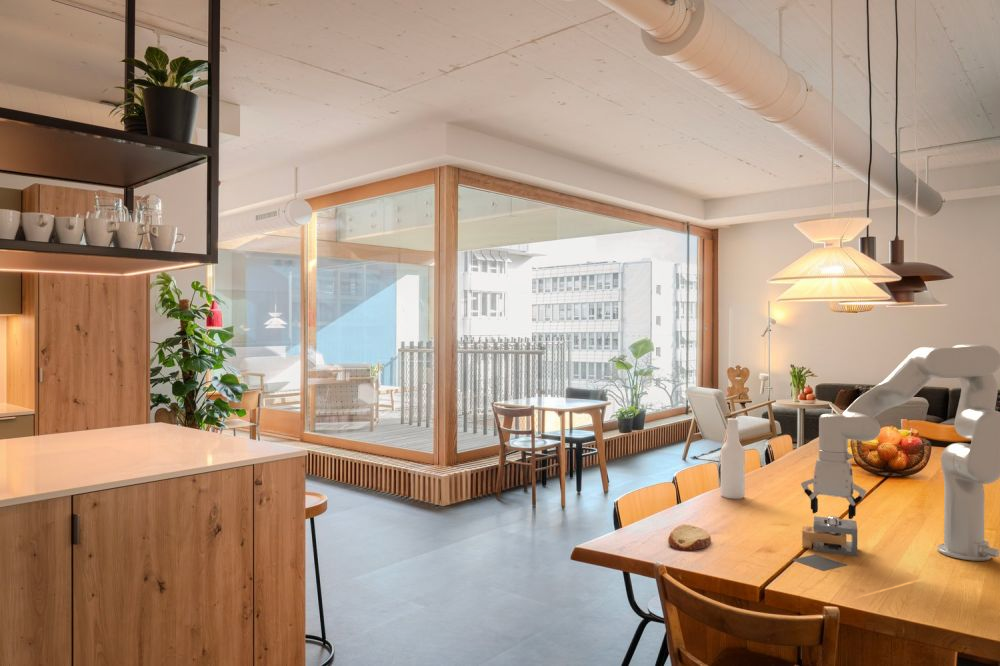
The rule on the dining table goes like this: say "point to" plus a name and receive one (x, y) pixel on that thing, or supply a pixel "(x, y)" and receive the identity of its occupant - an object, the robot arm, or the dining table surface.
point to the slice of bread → (689, 538)
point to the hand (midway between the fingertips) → (832, 515)
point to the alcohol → (732, 463)
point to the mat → (819, 562)
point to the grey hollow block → (831, 537)
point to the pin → (833, 521)
